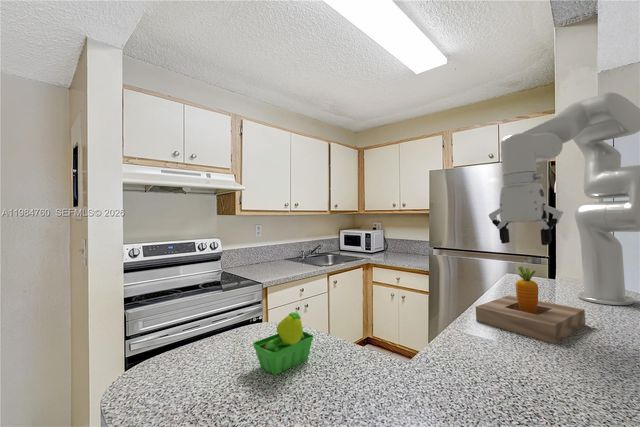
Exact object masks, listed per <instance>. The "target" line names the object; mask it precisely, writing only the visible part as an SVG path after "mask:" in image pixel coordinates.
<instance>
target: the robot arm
mask: <svg viewBox="0 0 640 427" xmlns="http://www.w3.org/2000/svg"><path fill="white" fill-rule="evenodd" d="M639 132H640V107H639V106H637V105H636V104H635V103H633V102H632V101H630V99H628V98H626V97H625V96H624V95H621V94H619V93H616V92H605V93H602V94H598V95H596V96H595V95H594V96H592V97H588V98H586V99H582V100H580V101H577V102H576V101H575V102H574V103H572V104H569V105H568V106H566V107H565V108H563V109H561V111H559V112H558V113H557V114H555V115H553V117H551V118H549V119H546V120H545V121H543V122H541V123H539V124H537V125H535V126H533V127H531V128H529V129H527V130H524V131H523V132H520V133H519V132H518V133H513V134H511V135H506V136H504V137H503V138H501V140H500V141H501V142H500V158H501V166H502V168H501V169H502V181H503V182H502V183H503V187H501V188H500V195H499V208H497V209H495V210H494V211H492V212H491V213H489V214H488V217H489V220H490V221H491V222H492V224H493V225H494V226H495V227H496V229H497V230H499V240H500V243H501V244H507V243H510V241H511V240H510V230H509V228H507V227H508V226H509V225H510V224H511V223H537V224H538V225H539V226H540V227H542V228H541V229H540V240H541V245H542V246H548V245H551V242H552V241H553V237H552V236H553V235H552V229H553V228H554V227H555V226H556V225H558V223H559V222H560V219H561V218H562V216H563V214H564V211H563V210H561V209H558V208H556V207H552V206H549V205H548V202H547V197H546V193H545V189H544V187H543V184H542V183H538V182H539V180H541V179H543V178H544V173H542V172H541V173H540V172H538V170H537V163H539V162H540V163H541V162H546V161H550V160H553V159H555V158H556V157H558V156H559V155H560V154H561V152H562V150H563V147H564V145H563V144H565V143H569V141H573V142H574V143H575V144H576V146H577V148H578V149H579V150H580V152H581V153H582V156H583V157H584V172H583V173H584V176H583V193H584V196H586V197H587V198H590V199H596V200H601V199H602V200H603V199H605V200H606V199H619V198H629V199H628V200H613V201H612V200H610V201H608V200H607V201H595V202H587V203H583V204H581V205H579V206H578V207H577V208H576V209H575V212H574V219H575V224H576V226H577V231H578V232H579V233H578V234H579V239H580V250H581V251H580V253H581V264H582V265H581V266H582V267H581V268H582V280H583V283H582V284H583V291H580V292H578V294H577V298H579V299H581V300H583V301H587V302H590V303H596V304H601V305H609V306H630V305H633V304H634V299H633V297H632V298H631V297H630V296H627V295H626V285H625V284H626V282H625V268H624V255H623V254H624V253H623V247H622V246H623V245H622V244H621V241H620V240H619V239H618V238H617V237H616V236H615V235H614V234H613V233H614V232H615V233H617V232H621V233H622V232H623V233H632V232H633V233H640V164H639V165H627V166H622V155H621V152H620V151H619V150H618V149H616V148H615V147H614V146H613V145H611V144H609V143H607V142H606V141H608V140H612V139H617V138H623V137H628V136H632V135H635V134H637V133H639ZM549 213H550V214H551V215H552V218H551V219H550V220H548V219H549ZM498 216H499V219H500V220H501V221H500V220H499V219H498Z"/></svg>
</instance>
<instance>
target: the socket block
mask: <svg viewBox="0 0 640 427" xmlns="http://www.w3.org/2000/svg"><path fill="white" fill-rule="evenodd" d="M474 308H475V321H476V322H479V323H482V324H484V325H489V326H491V327H492V326H493V327H495V328H500V329H502V330H506V331H510V332H514V333H515V334H517V333H518V334H521V335H522V336H523V335H524V336H527V337H531V338H534V339H537V340H542V341H545V342H549V343H551V344H557V343H559V342H560V341H562V340H565V338H567V337H569V336H570V335H572V334H573V333H575V332H577V331H578V330H580V329H581V328H584V327H585V326H586V310H585V309H583V308H578V307H575V306H574V307H573V306H569V305H568V306H567V305H563V304H558V303H552V302H548V301H547V302H546V301H542V300H538V305H537V310H536V313H535V314H531V313H527V312H522V311H520V309H519V305H518V301H517V295H516V296H514V295H510V294H508V295H505V296H503V297H500V298H497V299H494V300H491V301H488V302H485V303H482V304H479V305H477V306H476V305H475V307H474Z"/></svg>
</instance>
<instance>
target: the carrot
mask: <svg viewBox="0 0 640 427" xmlns="http://www.w3.org/2000/svg"><path fill="white" fill-rule="evenodd" d="M517 269H518V270H519V271H520V273H517V275H518V276H519V277H520V278H521V279H519V280H516V281H515V293H516V297H517V301H518V305H519V309H520V311H522V312H527V313H531V314H535V313H536V310H537V305H538V301H539V284H538V283H537V282H535V280H532V277H533V276H534V275H535V273H536V271H537V270H536V269H532V270H531V271H530V268H527V267H525V269H524V268H523V266H522V265H519V266H518V267H517Z"/></svg>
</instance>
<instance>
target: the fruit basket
mask: <svg viewBox="0 0 640 427" xmlns="http://www.w3.org/2000/svg"><path fill="white" fill-rule="evenodd" d="M313 340H314V335H313V334H310V333H308V332H307V331H304V329H303V324H302V320H301V315H300V313H298V312H295V311H292V312H290V313H288V315H287V316H285V317H284V318H283V319H282V320H281V321H279V323H278V324H277V325H276V333H275V334H273V335H270V336H268V337H265V338H262V339H259V340H256V341H253V343H252V345H253V349H254V350H255V352H256V356H257V358H258V363H259V366H260V368H262V369H264V370H265V371H266V372H268V373H271V374H272V375H273V376H276V375H278V374H280V373H282V372H283V371H287V370H288V369H290V368H292V367H294V366H297V365H300V363H302V362H305V361H307V360H308V359H309V355H310V351H311V346H312V342H313Z"/></svg>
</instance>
